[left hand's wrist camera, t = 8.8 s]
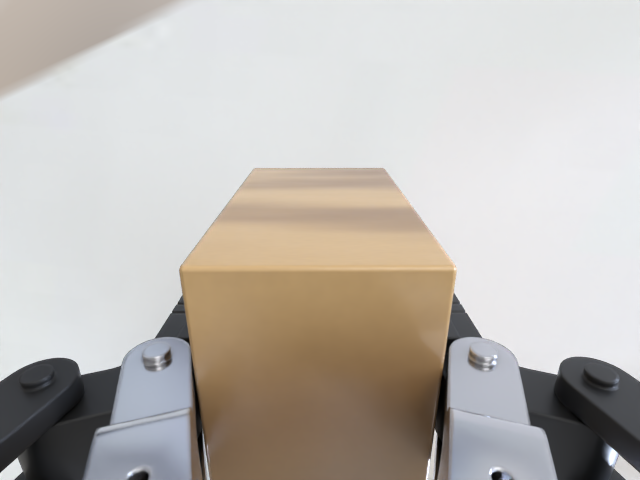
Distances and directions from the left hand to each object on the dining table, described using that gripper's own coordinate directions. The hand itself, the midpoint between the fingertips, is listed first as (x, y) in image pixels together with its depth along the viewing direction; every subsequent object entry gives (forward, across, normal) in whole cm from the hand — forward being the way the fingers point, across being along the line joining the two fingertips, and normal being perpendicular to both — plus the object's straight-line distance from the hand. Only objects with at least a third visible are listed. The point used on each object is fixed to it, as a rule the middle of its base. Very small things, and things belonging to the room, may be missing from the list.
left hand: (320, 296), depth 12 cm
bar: (+3, 0, -9) cm, 10 cm away
